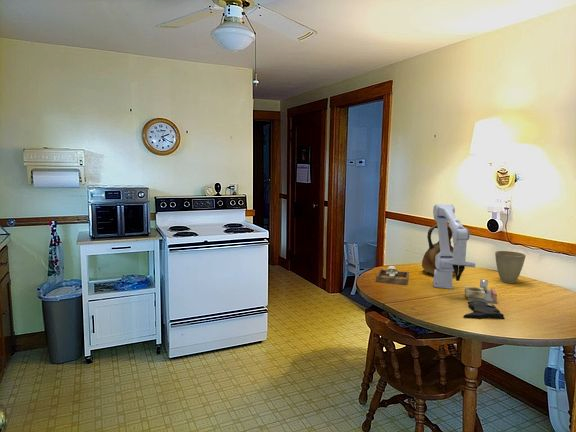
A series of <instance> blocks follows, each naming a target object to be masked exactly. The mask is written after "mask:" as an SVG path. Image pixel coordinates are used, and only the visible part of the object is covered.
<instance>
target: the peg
mask: <svg viewBox="0 0 576 432" xmlns="http://www.w3.org/2000/svg"><path fill="white" fill-rule="evenodd" d="M479 281H480V282H479V283H480V285H479V288H483V289H484V292H485V293H487V290H488V287H489V285H488V284H489V280H488V279H485V278H481V279H480V280H479Z"/></svg>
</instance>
